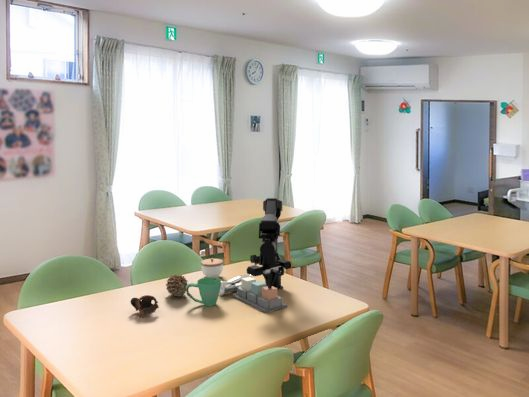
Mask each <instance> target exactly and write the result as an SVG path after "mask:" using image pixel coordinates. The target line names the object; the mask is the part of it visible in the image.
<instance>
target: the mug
mask: <svg viewBox="0 0 529 397" xmlns="http://www.w3.org/2000/svg"><path fill="white" fill-rule="evenodd" d="M221 281H222V280H221V278H220V277H218V278H215V279H213V277H207V278H206V277H203V278H200V279H198V280H197V282H196V283H194V282H190V283H187V284H188V285H187V286H186V291H185V292H186V295H187V297H189V298H190V299H191V300H192V301H193V302H196V303H199V304H201V305H204V306H206V307H213V306H216V305H217V302H218V299H219V296H220V293H219V292H220V286H221ZM192 287H193V288H198V291H199V296H200V298H201V299H199V298H195V296H193V295H192V294H191V293H190V292H189V291H190V290H189V288H192Z"/></svg>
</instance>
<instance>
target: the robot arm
mask: <svg viewBox="0 0 529 397" xmlns="http://www.w3.org/2000/svg"><path fill="white" fill-rule="evenodd" d="M283 207H284V206H283V201H282V200H279V198H276V197H266V199H265V200H263V201H262V210H263V212H264V216H262V217H261V220H260V221H259V223H258V224H259V225H258V226H259V227H258V228H259V229H258V239H261V245H260V246H259V247H260V248H259V255H257V254H252V255H250V259H249V260H250V263H251V264H253V265H250V266H247V267H246V275H247V274H250V275H251V276H252V277H258V276H260V277H261V276H263V279H264V280H265V281H264V283H266V287H267V286H268V288H271V287H272V286H273V287H275V288H277V290H279V289H282V288H284V286H283V285H282V277H283V275H285V270H290V269H292V263H291V261H290V260H287V259H284V258H282V257H281V256H280V254H279V252H278V243H279V242H278V239H279V237H281V225H280V223H279V222H278V221H279V218H280V217H281V215H282V212H283Z"/></svg>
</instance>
